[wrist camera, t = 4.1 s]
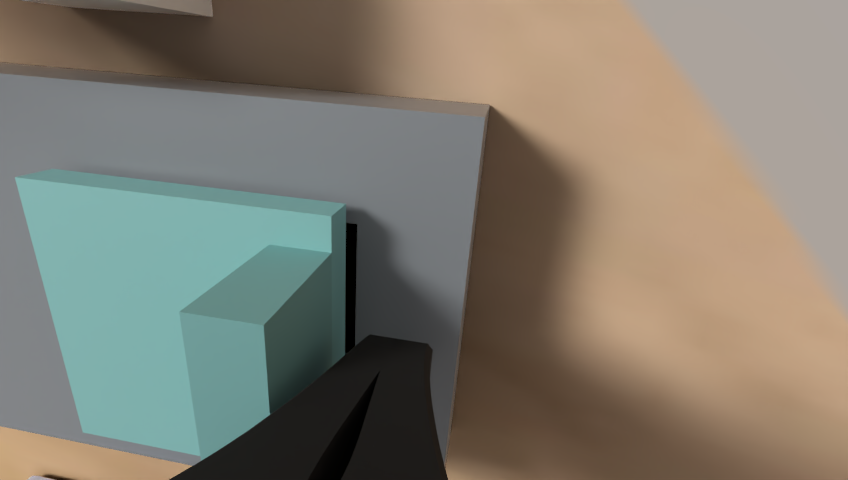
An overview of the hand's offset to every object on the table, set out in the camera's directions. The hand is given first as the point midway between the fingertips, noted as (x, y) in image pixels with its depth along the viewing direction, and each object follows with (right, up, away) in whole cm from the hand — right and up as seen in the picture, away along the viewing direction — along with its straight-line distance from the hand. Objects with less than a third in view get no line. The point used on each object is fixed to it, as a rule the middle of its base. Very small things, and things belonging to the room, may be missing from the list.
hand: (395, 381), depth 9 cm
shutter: (-4, +1, +1) cm, 5 cm away
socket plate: (-6, +2, +5) cm, 8 cm away
